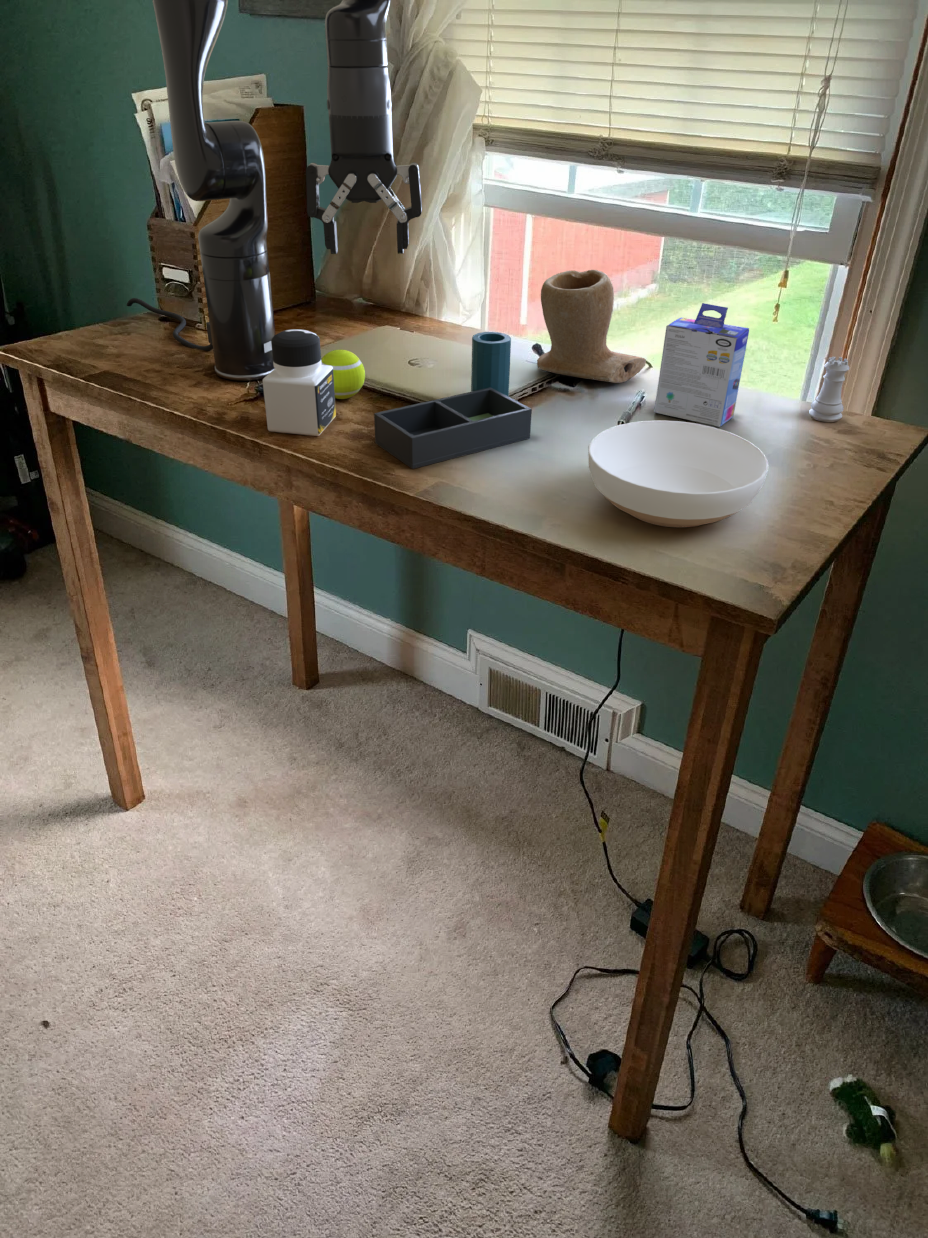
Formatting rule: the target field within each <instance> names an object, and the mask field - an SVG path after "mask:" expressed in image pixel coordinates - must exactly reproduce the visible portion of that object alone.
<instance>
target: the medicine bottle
mask: <svg viewBox="0 0 928 1238" xmlns="http://www.w3.org/2000/svg"><path fill="white" fill-rule="evenodd" d="M275 334H276V335H274V336H273V338H272V339H271V344H272V354H273V364H274V368H275V369H274V370H273V371H271V372H270V373H269V374H268V375H267V376H266V377H265V378H263V379H262V388H263V399H264V408H265V416H266V425H267V427H266V428H267V430H268V432H272V433H281V434H291V435H292V434H293V435H302V436H311V437H312V436H313V437H319V436H320V435H321V434H322V433H323V432H324V431H325V430H326V429H327V427H328V426H329V425H330V424H331V423H332V421H334V419H335V418H336V417H337V410H336V409H337V408H336V398H335V392H334V376H333V367H332V366H330V365H321V359H322V352H321V351H322V350H321V339H320V336H318V335H317V333H315V332H313V331H310V330H306V329H300V328H299V329H286V330H283V331H280V332H278V333H275Z"/></svg>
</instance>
